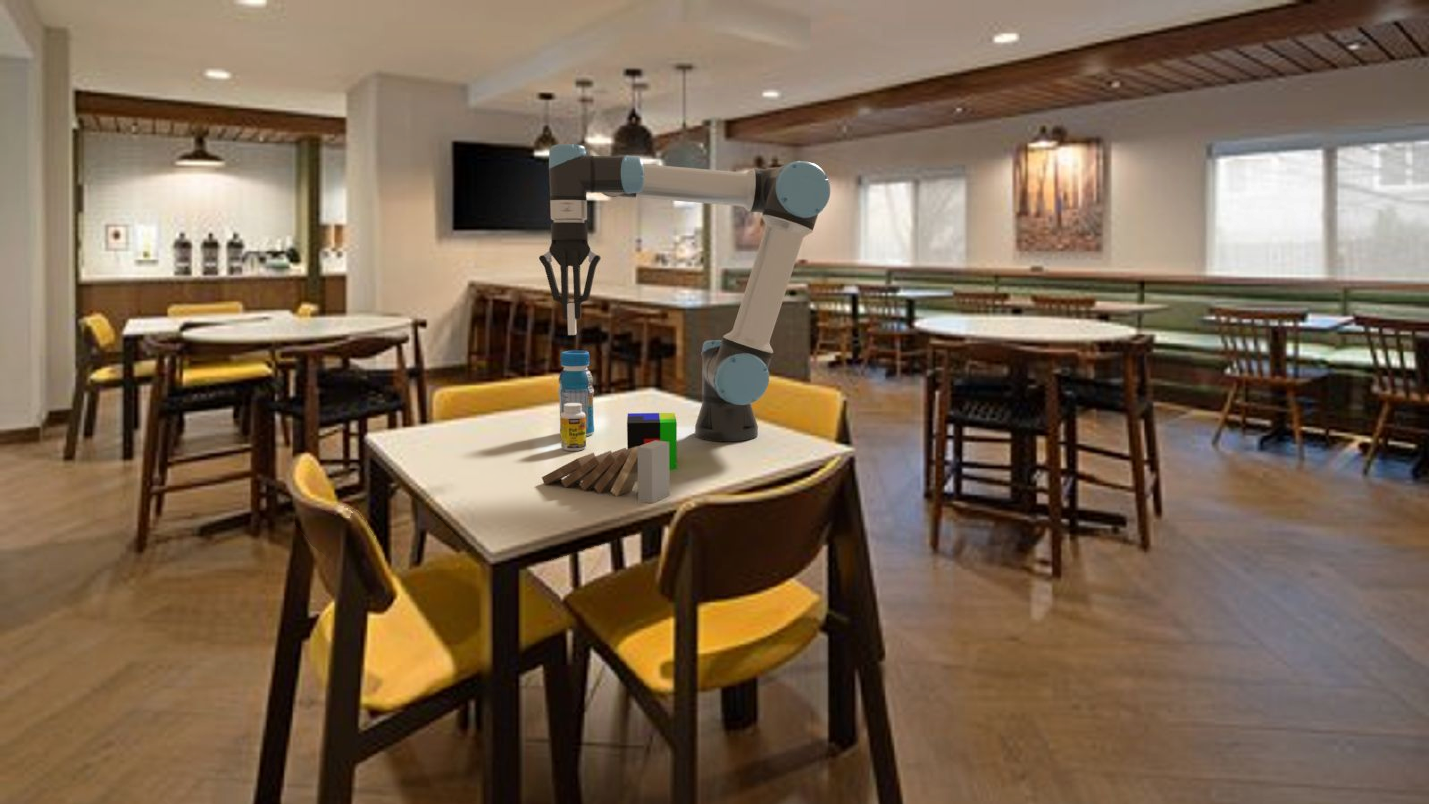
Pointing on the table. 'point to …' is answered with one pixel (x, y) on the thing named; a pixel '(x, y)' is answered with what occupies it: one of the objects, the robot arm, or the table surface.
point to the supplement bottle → (573, 427)
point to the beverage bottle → (577, 385)
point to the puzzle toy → (653, 432)
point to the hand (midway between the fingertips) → (572, 334)
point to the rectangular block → (653, 471)
